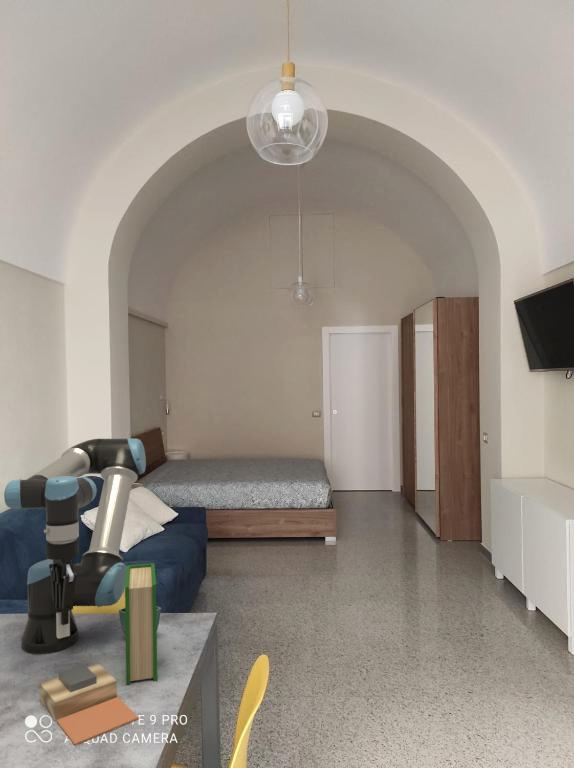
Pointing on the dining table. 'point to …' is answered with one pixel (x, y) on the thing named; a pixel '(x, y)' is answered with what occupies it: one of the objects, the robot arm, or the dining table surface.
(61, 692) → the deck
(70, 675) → the gray flat block
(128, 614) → the hardback book
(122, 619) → the flower pot
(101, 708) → the mat
